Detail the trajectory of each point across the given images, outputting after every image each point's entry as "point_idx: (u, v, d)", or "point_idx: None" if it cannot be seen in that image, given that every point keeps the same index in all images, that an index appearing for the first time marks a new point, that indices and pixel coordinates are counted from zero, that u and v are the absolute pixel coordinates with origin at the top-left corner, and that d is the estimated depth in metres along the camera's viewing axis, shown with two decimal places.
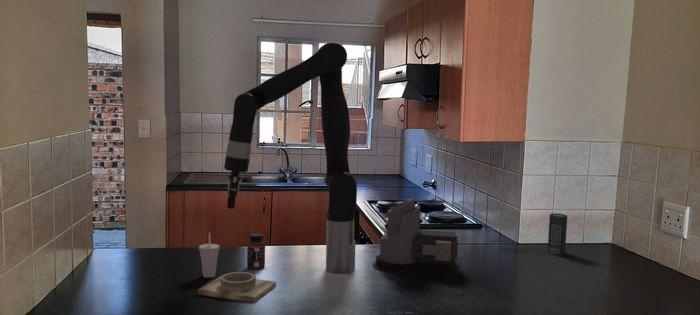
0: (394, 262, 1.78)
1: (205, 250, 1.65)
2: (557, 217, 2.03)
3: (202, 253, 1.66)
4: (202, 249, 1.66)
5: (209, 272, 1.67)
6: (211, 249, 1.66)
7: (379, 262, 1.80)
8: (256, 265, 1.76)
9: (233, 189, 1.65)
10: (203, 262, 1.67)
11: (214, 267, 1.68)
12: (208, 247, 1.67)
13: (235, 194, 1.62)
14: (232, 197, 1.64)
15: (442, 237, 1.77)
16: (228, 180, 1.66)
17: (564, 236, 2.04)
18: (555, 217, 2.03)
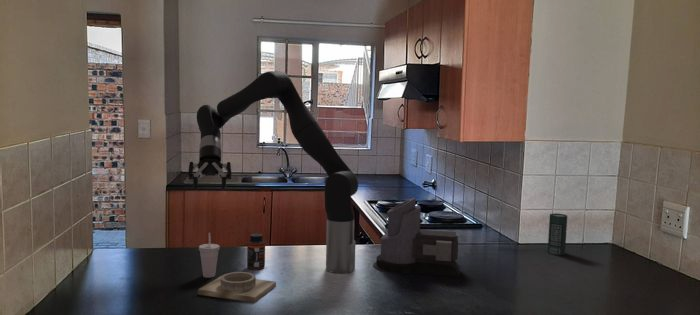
0: (394, 262, 1.78)
1: (205, 250, 1.65)
2: (557, 217, 2.03)
3: (202, 253, 1.66)
4: (202, 249, 1.66)
5: (209, 272, 1.67)
6: (211, 249, 1.66)
7: (379, 262, 1.81)
8: (256, 265, 1.76)
9: None
10: (203, 262, 1.67)
11: (214, 267, 1.68)
12: (208, 247, 1.67)
13: (188, 174, 1.79)
14: (193, 179, 1.79)
15: (442, 237, 1.77)
16: None
17: (564, 236, 2.04)
18: (555, 217, 2.03)
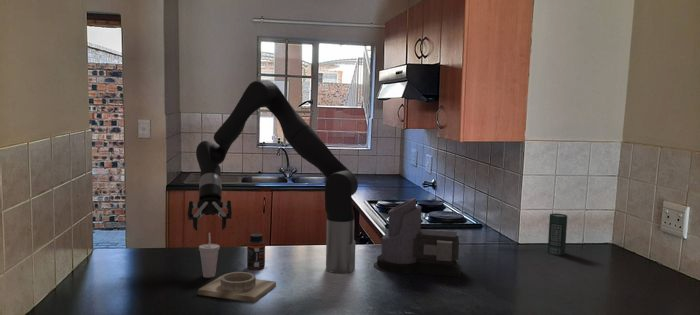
0: (395, 262, 1.78)
1: (205, 250, 1.65)
2: (557, 217, 2.03)
3: (202, 253, 1.66)
4: (202, 249, 1.66)
5: (209, 272, 1.67)
6: (211, 249, 1.66)
7: (380, 262, 1.81)
8: (256, 265, 1.76)
9: None
10: (203, 262, 1.67)
11: (214, 267, 1.68)
12: (208, 247, 1.67)
13: None
14: (193, 219, 1.76)
15: (443, 237, 1.77)
16: None
17: (564, 236, 2.04)
18: (555, 217, 2.03)
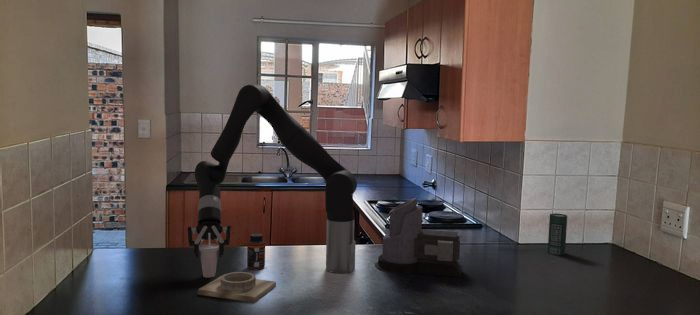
0: (396, 262, 1.78)
1: (205, 250, 1.65)
2: (557, 217, 2.03)
3: (202, 253, 1.66)
4: (202, 249, 1.66)
5: (209, 272, 1.67)
6: (211, 249, 1.66)
7: (381, 262, 1.81)
8: (256, 265, 1.76)
9: None
10: (203, 262, 1.67)
11: (214, 267, 1.68)
12: (208, 247, 1.67)
13: None
14: (194, 246, 1.68)
15: (444, 237, 1.77)
16: None
17: (564, 236, 2.04)
18: (555, 217, 2.03)
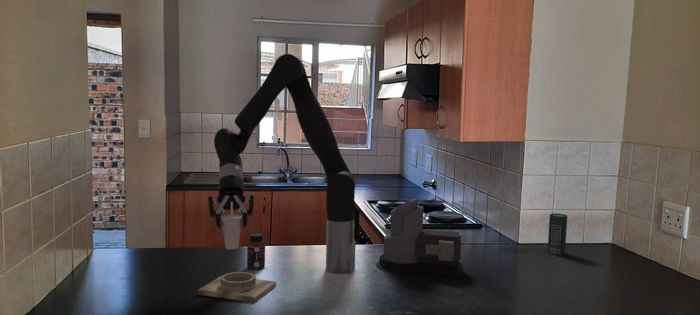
0: (397, 262, 1.78)
1: (227, 220, 1.55)
2: (557, 217, 2.03)
3: (224, 223, 1.56)
4: (224, 219, 1.55)
5: (232, 244, 1.57)
6: (234, 219, 1.55)
7: (382, 261, 1.81)
8: (256, 265, 1.76)
9: None
10: (225, 233, 1.56)
11: (238, 239, 1.58)
12: (230, 217, 1.56)
13: (209, 211, 1.58)
14: (215, 216, 1.58)
15: (445, 237, 1.77)
16: None
17: (564, 236, 2.04)
18: (555, 217, 2.03)
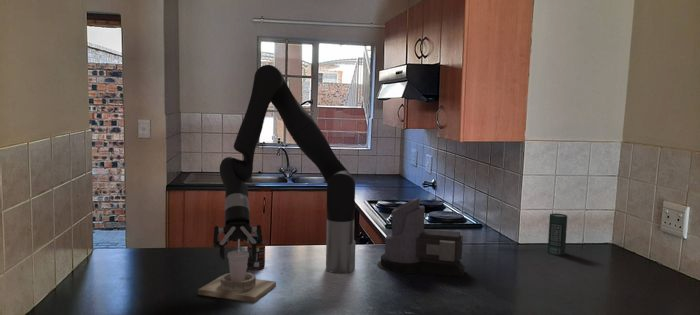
0: (398, 261, 1.79)
1: (234, 258, 1.52)
2: (557, 217, 2.03)
3: (231, 261, 1.53)
4: (231, 257, 1.53)
5: None
6: (241, 257, 1.53)
7: (383, 261, 1.82)
8: (256, 265, 1.76)
9: None
10: (232, 271, 1.54)
11: (244, 276, 1.55)
12: (237, 255, 1.53)
13: (213, 242, 1.55)
14: (219, 247, 1.55)
15: (446, 237, 1.77)
16: None
17: (564, 236, 2.04)
18: (555, 217, 2.03)
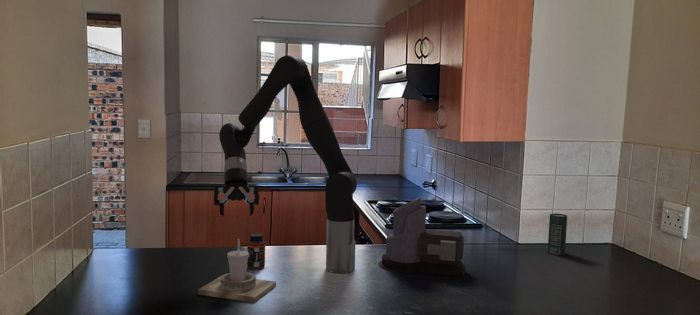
0: (399, 261, 1.79)
1: (234, 258, 1.53)
2: (557, 217, 2.03)
3: (231, 261, 1.53)
4: (231, 256, 1.53)
5: None
6: (241, 257, 1.53)
7: (384, 261, 1.82)
8: (256, 265, 1.76)
9: None
10: (232, 271, 1.54)
11: (244, 276, 1.55)
12: (237, 254, 1.54)
13: None
14: (219, 205, 1.67)
15: (447, 237, 1.77)
16: None
17: (564, 236, 2.04)
18: (555, 217, 2.03)
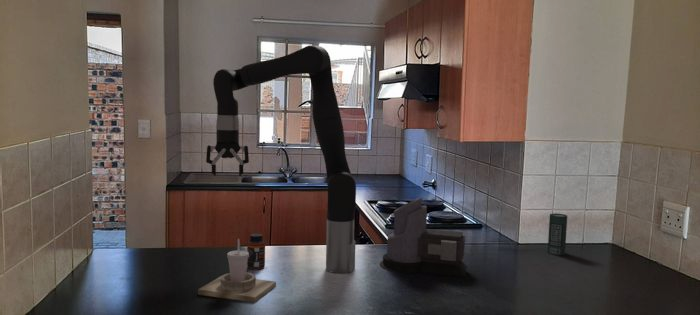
0: (400, 261, 1.80)
1: (234, 258, 1.53)
2: (557, 217, 2.03)
3: (231, 261, 1.54)
4: (231, 256, 1.53)
5: None
6: (241, 256, 1.53)
7: (385, 260, 1.82)
8: (256, 265, 1.76)
9: None
10: (232, 270, 1.54)
11: (244, 276, 1.55)
12: (237, 254, 1.54)
13: (206, 161, 1.81)
14: (211, 164, 1.82)
15: (448, 237, 1.77)
16: None
17: (564, 236, 2.04)
18: (555, 217, 2.03)
